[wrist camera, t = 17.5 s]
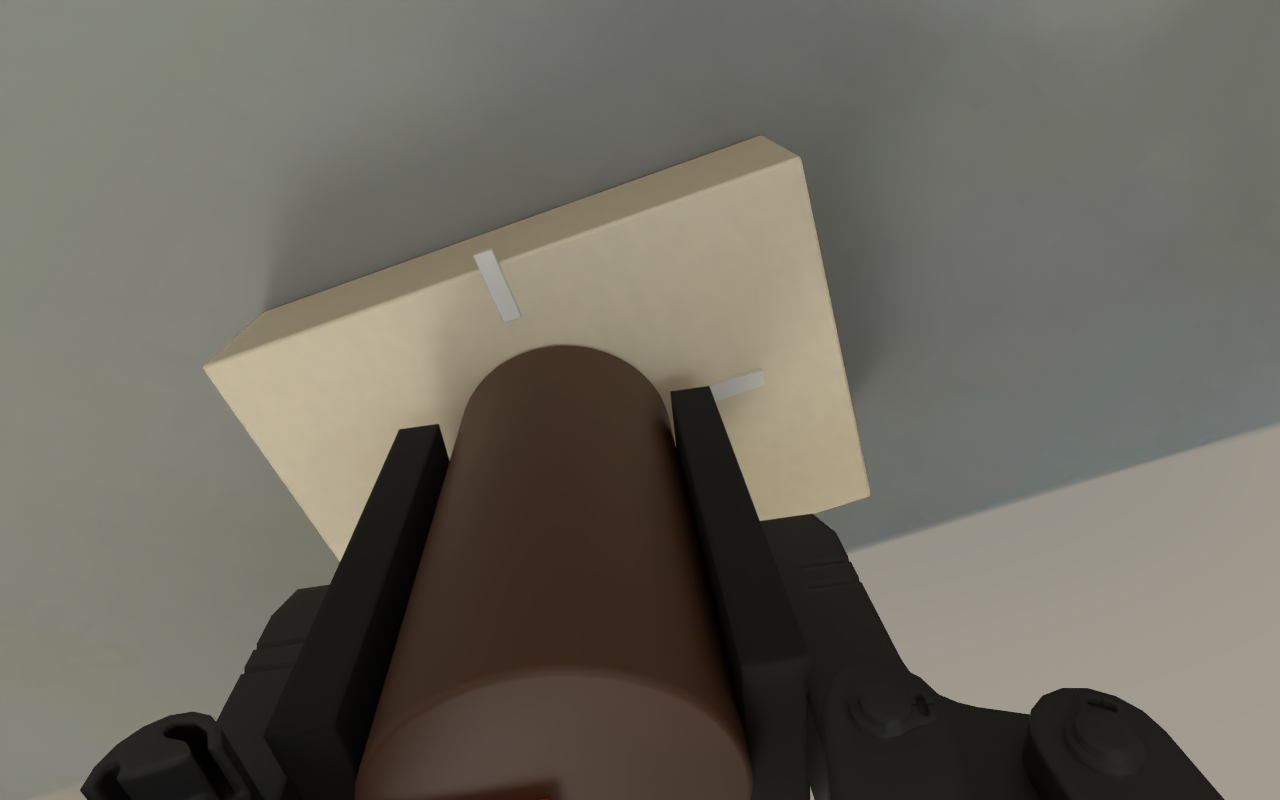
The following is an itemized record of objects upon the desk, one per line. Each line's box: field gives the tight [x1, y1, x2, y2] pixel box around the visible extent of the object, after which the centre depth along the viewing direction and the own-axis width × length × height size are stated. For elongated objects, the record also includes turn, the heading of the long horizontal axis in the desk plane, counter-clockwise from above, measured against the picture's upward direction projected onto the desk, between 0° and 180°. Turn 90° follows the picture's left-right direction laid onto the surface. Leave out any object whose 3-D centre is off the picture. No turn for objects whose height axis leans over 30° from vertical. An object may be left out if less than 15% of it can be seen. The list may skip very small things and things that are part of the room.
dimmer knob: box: [354, 345, 753, 800], centre depth 11 cm, size 4×4×8 cm
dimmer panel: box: [203, 136, 870, 562], centre depth 16 cm, size 9×12×3 cm
